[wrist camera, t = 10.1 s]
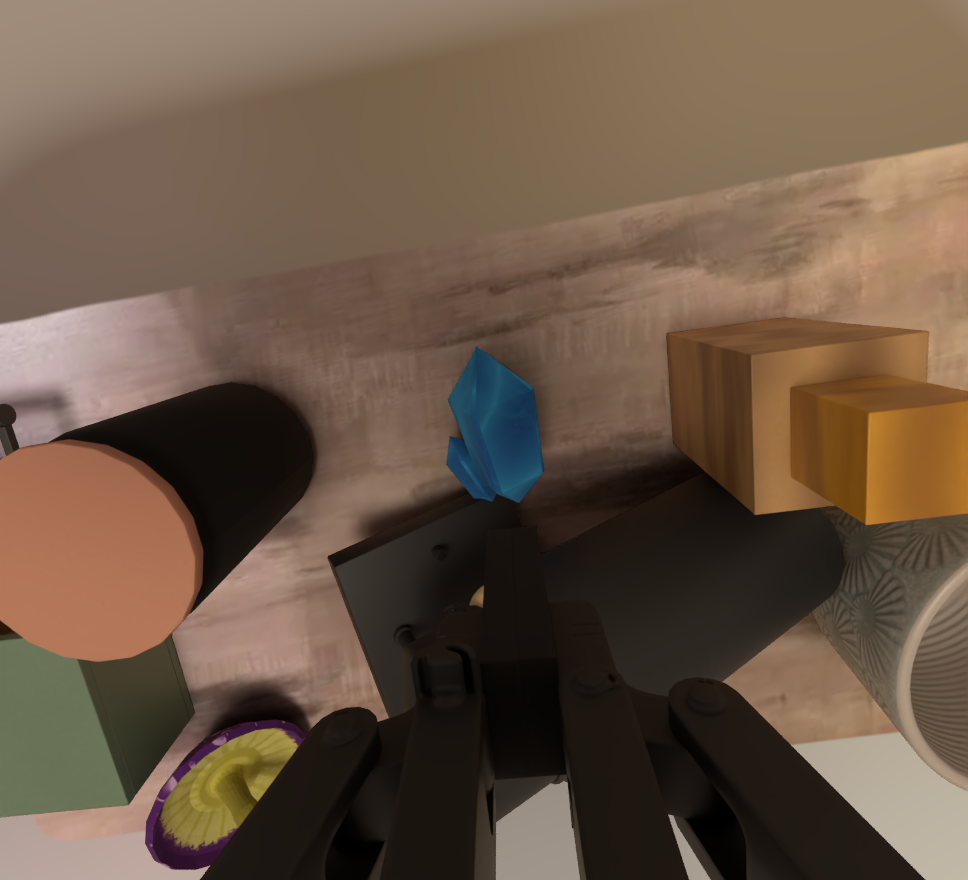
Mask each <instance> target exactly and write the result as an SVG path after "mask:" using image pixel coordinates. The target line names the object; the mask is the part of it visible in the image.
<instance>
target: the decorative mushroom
mask: <svg viewBox="0 0 968 880" xmlns="http://www.w3.org/2000/svg"><path fill="white" fill-rule="evenodd" d="M305 737H306V734H305V733H304V732H303V731H302V730H301V729H300V728H299V727H297V726H296V725H295V724H293V723H289V722H285V721H281V720H266V721H254V722H245V723H239V724H237V725H234V726H231V727H229V728H226V729H223V730H221V731H218V732H216V733H215V734H213V735H211V736H209V737H207V738H205V739H204V740H203V741H202V742H201V743H200V744H199V745H197V746H196V747H195V748H194V749H193V750H192V751H191V752H190V753H189V754H188V755H187V756H186V757H185V758H184V760H183V761H182V762H181V763H180V765H179V766H178V767H177V769H176V770H175V771H174V773H173V774H172V775H171V776H170V778H169V779H168V780H167V782H166V783H165V784H164V786H163V787H162V788H161V790H160V792H159V794H158V795H157V798H156V800H155V802H154V805H153V807H152V809H151V812H150V814H149V817H148V819H147V821H146V839H145V844H146V846H147V848H148V850H149V851H150V853H151V855H152V857H153V859H154V860H155V861H156V862H158V863H160V864H162V865H164V866H166V867H169V868H170V869H176V870H177V869H178V870H181V869H182V870H189V869H191V870H196V869H199V868H203V867H207V866H209V865H211V864H212V863H213V861H214V860H215V859H216V857H217V856H218V855H219V853H220V852H221V851H222V849H223V848H224V847H225V845H226V844H227V843H228V841H229V840H230V839H231V837H232V836H233V834H234V833H235V832H236V830H237V829H238V828H239V826H240V825H241V824H242V822H243V821H244V820H245V818H246V817H247V816H248V814H249V813H250V812H251V810H252V809H253V807H254V806H255V805H256V803H257V802H258V801H259V799H260V798H261V797H262V795H263V794H264V793H265V791H266V790H267V789H268V787H269V786H270V785H271V783H272V782H273V780H274V779H275V778H276V776H277V775H278V774H279V772H280V771H281V770H282V768H283V767H284V766H285V764H286V763H287V762H288V760H289V759H290V758H291V756H292V755H293V753H294V752H295V751H296V749H297V748H298V747H299V745H300V744H301V743H302V741H303V740H304V739H305Z"/></svg>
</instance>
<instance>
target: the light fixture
mask: <svg viewBox="0 0 968 880" xmlns="http://www.w3.org/2000/svg"><path fill="white" fill-rule="evenodd" d="M519 527H521V524H520V520H519V516H518V513H517V509H516V505H515V502H514V501H513V500H511V499H508V498H506V497H504V496H501V495H499V494H496V495H495V498H494V500H493V501H489V500H486V499H475V498H473V497H472V495H471V494H470V493H467V494H465V495H463V496H460V497H458V498H456V499H454V500H452V501H449V502H447V503H445V504H443V505H440V506H438V507H436V508H434V509H432V510H429V511H427V512H425V513H423V514H420V515H418V516H416V517H414V518H412V519H409V520H407V521H405V522H403V523H400V524H398V525H396V526H394V527H392V528H389V529H387V530H385V531H383V532H380V533H378V534H376V535H374V536H372V537H369V538H367V539H365V540H363V541H360V542H358V543H356V544H354V545H352V546H349V547H347V548H345V549H343V550H340V551H338V552H336V553H334V554H332V555H329V556H328V561H329V563H330V566H331V568H332V571H333V574H334V576H335V579H336V581H337V584H338V587H339V589H340V592H341V594H342V597H343V600H344V602H345V605H346V607H347V610H348V613H349V615H350V618H351V620H352V623H353V626H354V628H355V631H356V633H357V636H358V639H359V641H360V644H361V647H362V649H363V652H364V654H365V657H366V660H367V662H368V665H369V667H370V670H371V673H372V675H373V678H374V680H375V683H376V686H377V688H378V691H379V693H380V696H381V699H382V701H383V704H384V706H385V709H386V712H387V714H388V716H389V718H392V717H395V716H397V715H400V714H402V713H404V712H406V711H408V710H409V709H411V708H413V707H414V706H415V703H416V695H415V689H414V683H413V677H412V671H411V665H410V663H411V661H412V659H413V657H414V656H415V655H416V654H417V653H418V652H419V651H421V650H422V649H423V648H425V647H428V646H430V645H432V644H435V641H436V636H437V630H438V625H439V624H440V622H441V621H442V620H443V619H444V618H445V617H446V615H447V614H448V613H454V612H465V611H476V610H482V609H483V592H484V574H485V556H486V538H487V531H488V530H498V529H508V528H519ZM541 560H542V566H543V573H544V579H545V586H546V592H547V598H548V603H549V602H560V601H572V600H583V599H586V600H587V601H589V602H590V603H591V604H592V605H593V606H594V607H595V608H597V609H598V613H599V616H600V619H601V623H602V625H603V629H604V633H605V635H606V638H607V642H608V645H609V648H610V651H611V655H612V658H613V661H614V664H615V667H616V671H617V672H618V673H620V674H621V675H622V677H623V679H624V680H625V682H626V684H628V685H629V686H631V687H633V688H635V689H637V690H640V691H642V692H646V693H650V694H656V695H662V696H669V690H670V689H671V688H672V687H673V686H674V684H675V683H677V682H679V681H682V680H684V679H687V678H696V677H702V678H709V679H715V680H717V681H720V682H722V681H724V680H725V679H726V678H728V677H729V676H730V675H731V674H733V673H734V672H735V671H737V670H738V669H739V668H740V667H742V666H743V665H744V664H745V663H747V662H748V661H749V660H751V659H752V658H753V657H754V656H756V655H757V654H758V653H759V652H761V651H762V650H763V649H765V648H766V647H767V646H768V645H770V644H771V643H772V642H774V641H775V640H776V639H777V638H779V637H780V636H781V635H782V634H784V633H785V632H786V631H788V630H789V629H790V628H791V627H793V626H794V625H795V624H796V623H798V622H799V621H800V620H802V619H803V618H804V617H805V616H807V615H808V614H809V613H811V612H812V611H813V610H814V609H816V608H817V607H818V606H819V605H821V604H822V603H823V602H825V601H826V600H827V599H828V598H830V597H831V596H832V595H833V594H834V592H835V591H836V590H837V588H838V586H839V584H840V581H841V579H842V574H843V566H844V561H843V552H842V547H841V543H840V539H839V537H838V534H837V531H836V529H835V527H834V525H833V523H832V521H831V519H830V518H829V516H828V514H827V513H826V511H825V510H824V508H823V507H819V508H810V509H802V510H793V511H785V512H776V513H768V514H759V515H755V514H753V513H752V512H751V511H750V510H749V509H748V508H747V507H745V506H744V505H743V504H742V503H741V502H740V501H739V500H737V499H736V498H735V497H734V496H733V495H732V494H731V493H729V492H728V491H727V490H726V489H725V488H724V487H723V486H721V485H720V484H719V483H718V482H717V481H716V480H714V479H713V478H712V477H711V476H710V475H709V474H708V473H706V472H704V473H702V474H700V475H698V476H696V477H694V478H692V479H690V480H688V481H686V482H683V483H681V484H679V485H677V486H675V487H673V488H671V489H669V490H667V491H665V492H663V493H661V494H659V495H657V496H655V497H653V498H651V499H649V500H647V501H645V502H643V503H641V504H639V505H637V506H635V507H633V508H631V509H629V510H627V511H625V512H623V513H621V514H619V515H617V516H615V517H613V518H611V519H609V520H607V521H605V522H603V523H601V524H599V525H598V526H596V527H594V528H592V529H590V530H588V531H586V532H584V533H582V534H580V535H578V536H576V537H574V538H572V539H571V540H569V541H567V542H565V543H563V544H561V545H559V546H557V547H555V548H553V549H551V550H549V551H547V552H545V553H544V554H542V555H541ZM563 781H565V782H568V780H567V775H555V776H541V777H528V778H514V779H500V780H495V777H494V770H493V783H494V791H495V798H496V822H497V821H498V820H500V819H501V818H502V817H504V816H505V815H507V814H508V813H510V812H511V811H512V810H514V809H515V808H516V807H518V806H519V805H521V804H522V803H523V802H525V801H526V800H528V799H529V798H531V797H532V796H533V795H535V794H536V793H538V792H539V791H540V790H541V789H543V788H544V787H546V786H547V785H549V784H550V783H552V784H560V783H561V782H563Z"/></svg>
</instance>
